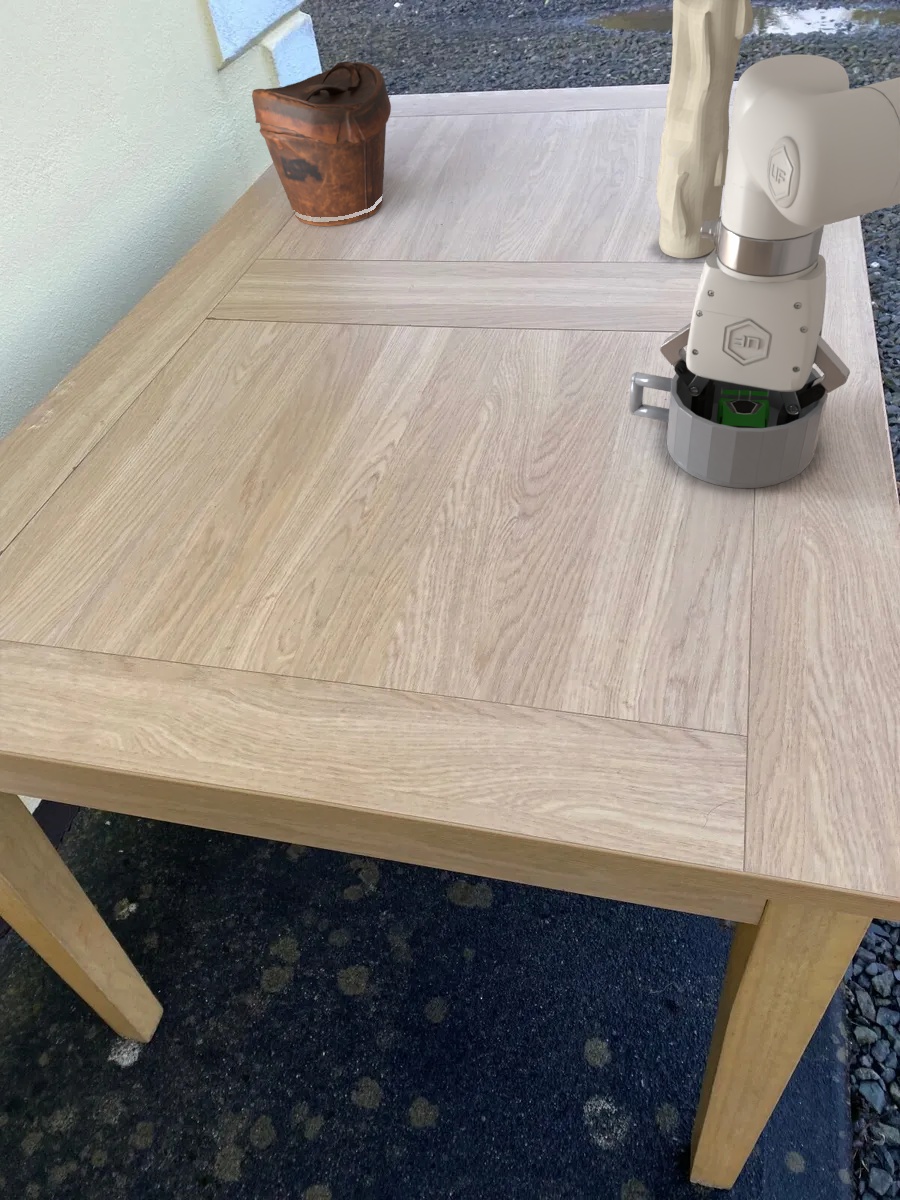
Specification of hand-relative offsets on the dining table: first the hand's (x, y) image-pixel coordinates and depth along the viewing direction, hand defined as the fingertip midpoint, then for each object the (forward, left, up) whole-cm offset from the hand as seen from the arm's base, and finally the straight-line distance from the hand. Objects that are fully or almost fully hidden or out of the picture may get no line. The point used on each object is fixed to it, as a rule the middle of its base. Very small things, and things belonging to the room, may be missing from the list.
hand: (740, 433), depth 83 cm
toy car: (0, 0, -1) cm, 1 cm away
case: (+68, -36, -1) cm, 76 cm away
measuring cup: (+2, 0, -1) cm, 2 cm away
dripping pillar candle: (+17, -36, -1) cm, 40 cm away
